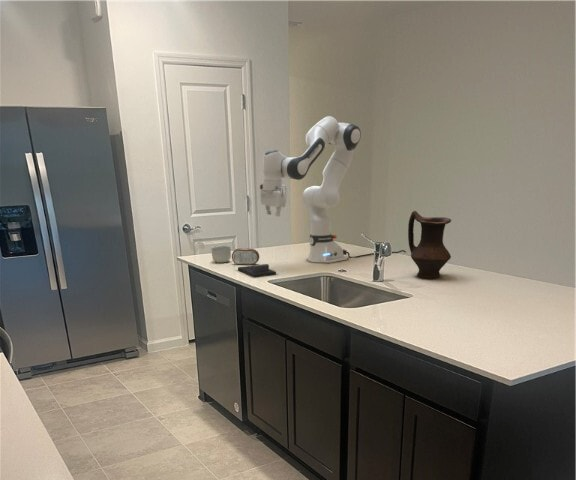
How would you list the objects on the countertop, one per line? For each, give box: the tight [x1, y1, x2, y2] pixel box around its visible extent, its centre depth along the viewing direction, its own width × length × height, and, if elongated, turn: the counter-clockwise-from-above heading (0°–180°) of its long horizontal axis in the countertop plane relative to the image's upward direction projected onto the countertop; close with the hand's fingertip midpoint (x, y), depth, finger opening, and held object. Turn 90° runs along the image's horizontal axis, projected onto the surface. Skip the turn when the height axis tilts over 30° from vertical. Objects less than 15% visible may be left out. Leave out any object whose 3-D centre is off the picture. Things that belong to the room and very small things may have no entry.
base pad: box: [237, 265, 253, 274], centre depth 283 cm, size 12×10×2 cm
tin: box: [231, 248, 260, 266], centre depth 297 cm, size 15×3×8 cm, turn 84°
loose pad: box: [245, 263, 277, 278], centre depth 275 cm, size 12×13×4 cm
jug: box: [407, 210, 452, 280], centre depth 258 cm, size 21×18×30 cm
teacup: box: [210, 245, 232, 264], centre depth 306 cm, size 14×11×8 cm
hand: (273, 215), depth 274 cm, fingers open, 8 cm apart
